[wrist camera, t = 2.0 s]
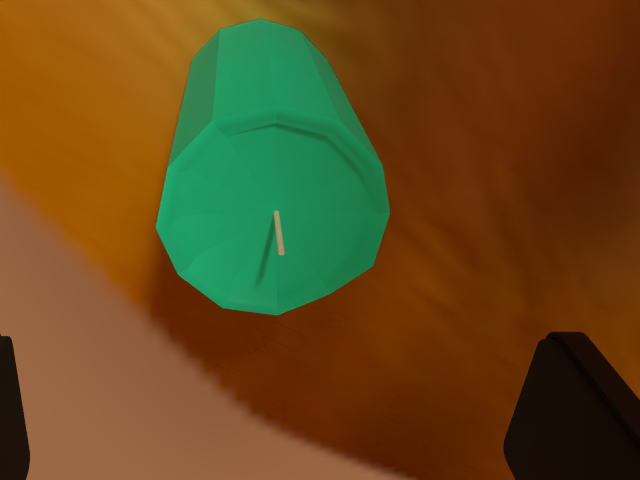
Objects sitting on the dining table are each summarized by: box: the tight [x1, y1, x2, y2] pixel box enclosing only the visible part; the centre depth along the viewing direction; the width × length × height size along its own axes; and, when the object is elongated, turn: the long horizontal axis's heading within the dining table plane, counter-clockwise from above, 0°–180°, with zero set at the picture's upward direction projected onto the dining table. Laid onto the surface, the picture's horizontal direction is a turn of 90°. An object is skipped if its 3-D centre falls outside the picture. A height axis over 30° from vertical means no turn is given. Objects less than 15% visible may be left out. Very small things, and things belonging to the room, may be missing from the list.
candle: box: [156, 19, 390, 316], centre depth 19 cm, size 6×6×12 cm
